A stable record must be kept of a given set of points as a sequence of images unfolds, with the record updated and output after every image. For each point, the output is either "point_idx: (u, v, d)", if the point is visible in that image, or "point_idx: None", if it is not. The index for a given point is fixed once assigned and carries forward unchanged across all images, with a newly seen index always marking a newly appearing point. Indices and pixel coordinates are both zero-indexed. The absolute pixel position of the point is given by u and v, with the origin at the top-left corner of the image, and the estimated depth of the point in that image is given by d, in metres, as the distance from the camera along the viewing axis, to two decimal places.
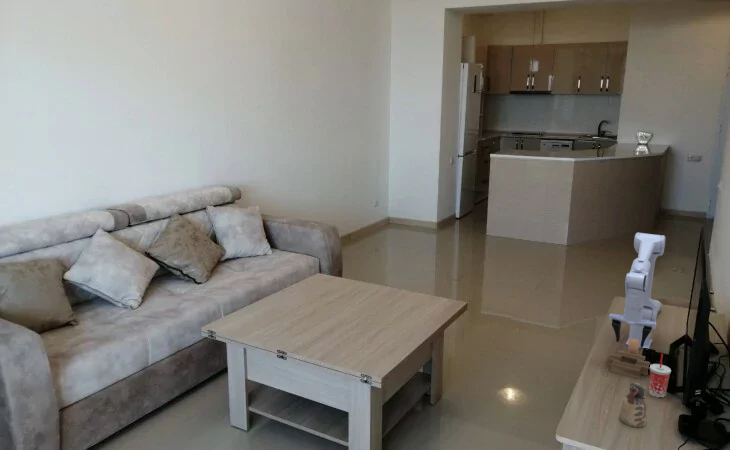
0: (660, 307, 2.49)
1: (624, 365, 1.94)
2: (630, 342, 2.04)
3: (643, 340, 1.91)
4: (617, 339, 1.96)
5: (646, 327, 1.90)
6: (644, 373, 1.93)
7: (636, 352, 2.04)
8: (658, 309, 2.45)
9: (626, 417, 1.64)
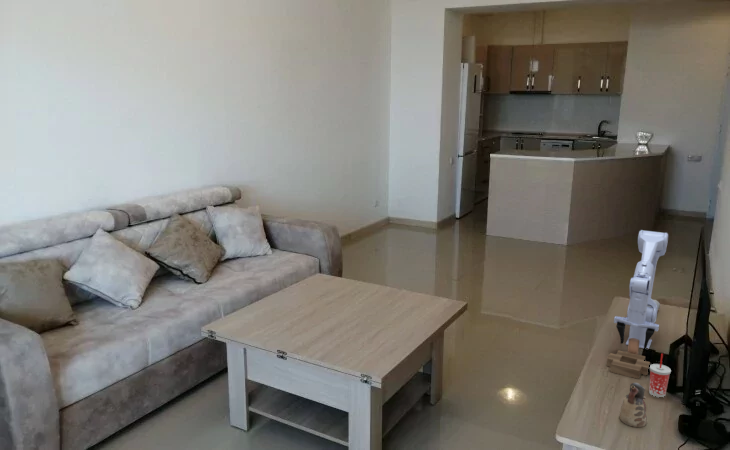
0: (658, 307, 2.49)
1: (624, 365, 1.94)
2: (630, 342, 2.04)
3: (646, 341, 2.01)
4: (621, 340, 2.06)
5: (649, 329, 2.00)
6: (644, 373, 1.93)
7: (636, 352, 2.04)
8: (657, 309, 2.45)
9: (626, 417, 1.64)
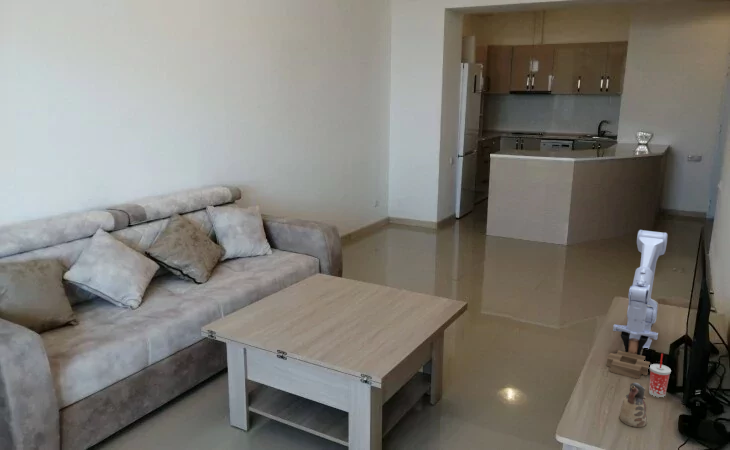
0: None
1: (624, 365, 1.94)
2: (630, 342, 2.04)
3: (640, 349, 2.02)
4: (626, 350, 2.05)
5: (643, 336, 2.02)
6: (644, 373, 1.93)
7: (636, 352, 2.04)
8: None
9: (626, 417, 1.64)
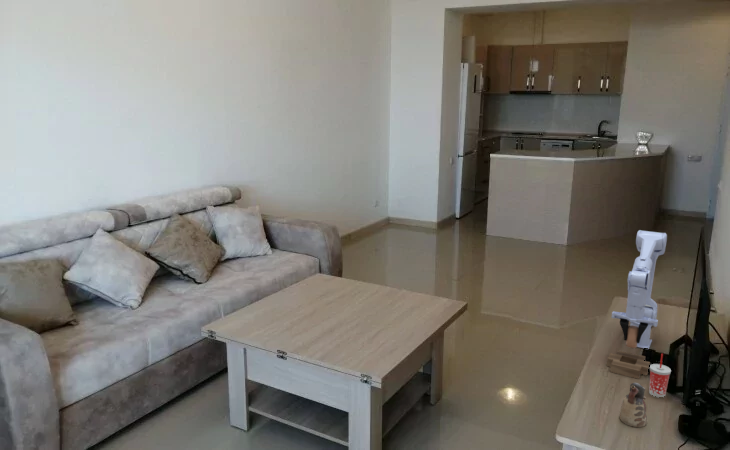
0: None
1: (624, 365, 1.94)
2: (629, 329, 1.97)
3: (639, 336, 1.96)
4: (625, 337, 1.99)
5: (642, 323, 1.95)
6: (644, 373, 1.93)
7: (635, 340, 1.97)
8: None
9: (626, 417, 1.64)
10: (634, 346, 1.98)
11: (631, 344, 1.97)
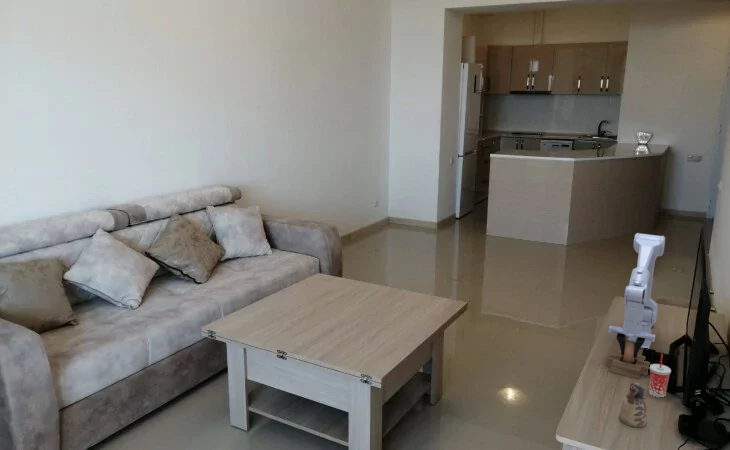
0: None
1: (624, 365, 1.94)
2: (626, 344, 1.96)
3: (636, 351, 1.94)
4: (622, 352, 1.97)
5: (639, 338, 1.93)
6: (644, 373, 1.93)
7: (632, 354, 1.95)
8: None
9: (626, 417, 1.64)
10: (631, 361, 1.96)
11: (629, 359, 1.96)
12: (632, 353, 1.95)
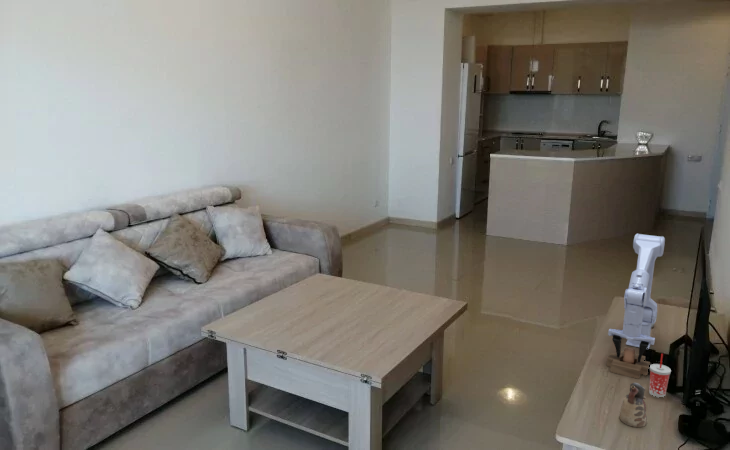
0: None
1: (624, 365, 1.94)
2: (625, 352, 1.96)
3: (640, 355, 1.94)
4: (618, 354, 1.98)
5: (643, 342, 1.93)
6: (644, 373, 1.93)
7: (632, 362, 1.96)
8: None
9: (626, 417, 1.64)
10: None
11: None
12: (631, 361, 1.96)
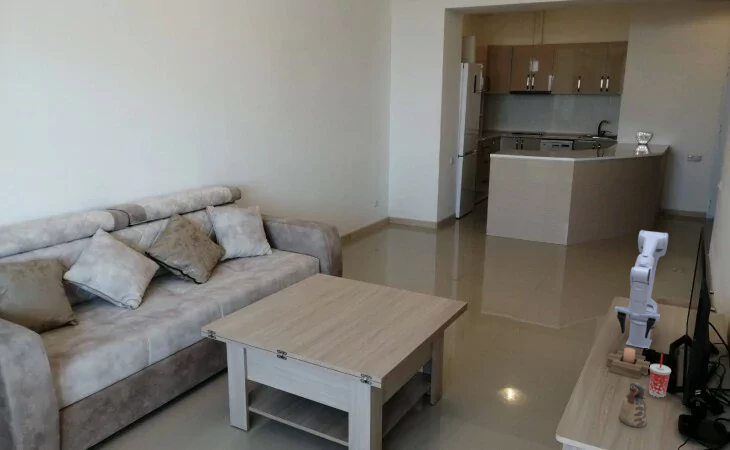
0: None
1: (624, 365, 1.94)
2: (625, 352, 1.96)
3: (647, 331, 1.99)
4: (622, 331, 2.04)
5: (650, 319, 1.98)
6: (644, 373, 1.93)
7: (632, 362, 1.96)
8: None
9: (626, 417, 1.64)
10: None
11: None
12: (631, 361, 1.96)
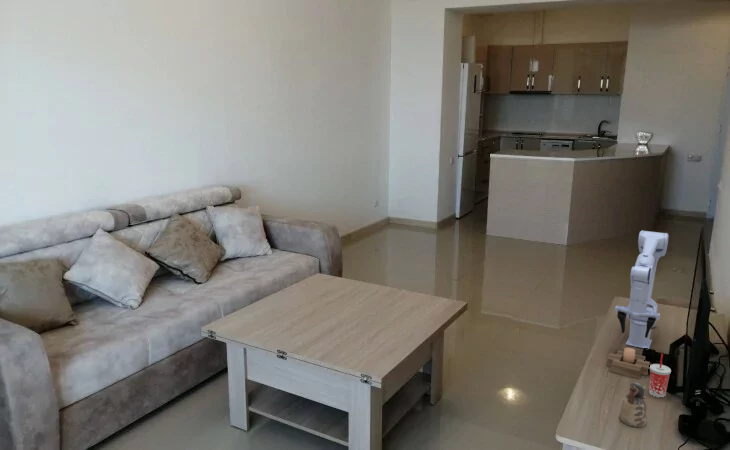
0: None
1: (624, 365, 1.94)
2: (625, 352, 1.96)
3: (647, 331, 1.99)
4: (622, 330, 2.04)
5: (650, 318, 1.99)
6: (644, 373, 1.93)
7: (632, 362, 1.96)
8: None
9: (626, 417, 1.64)
10: None
11: None
12: (631, 361, 1.96)
